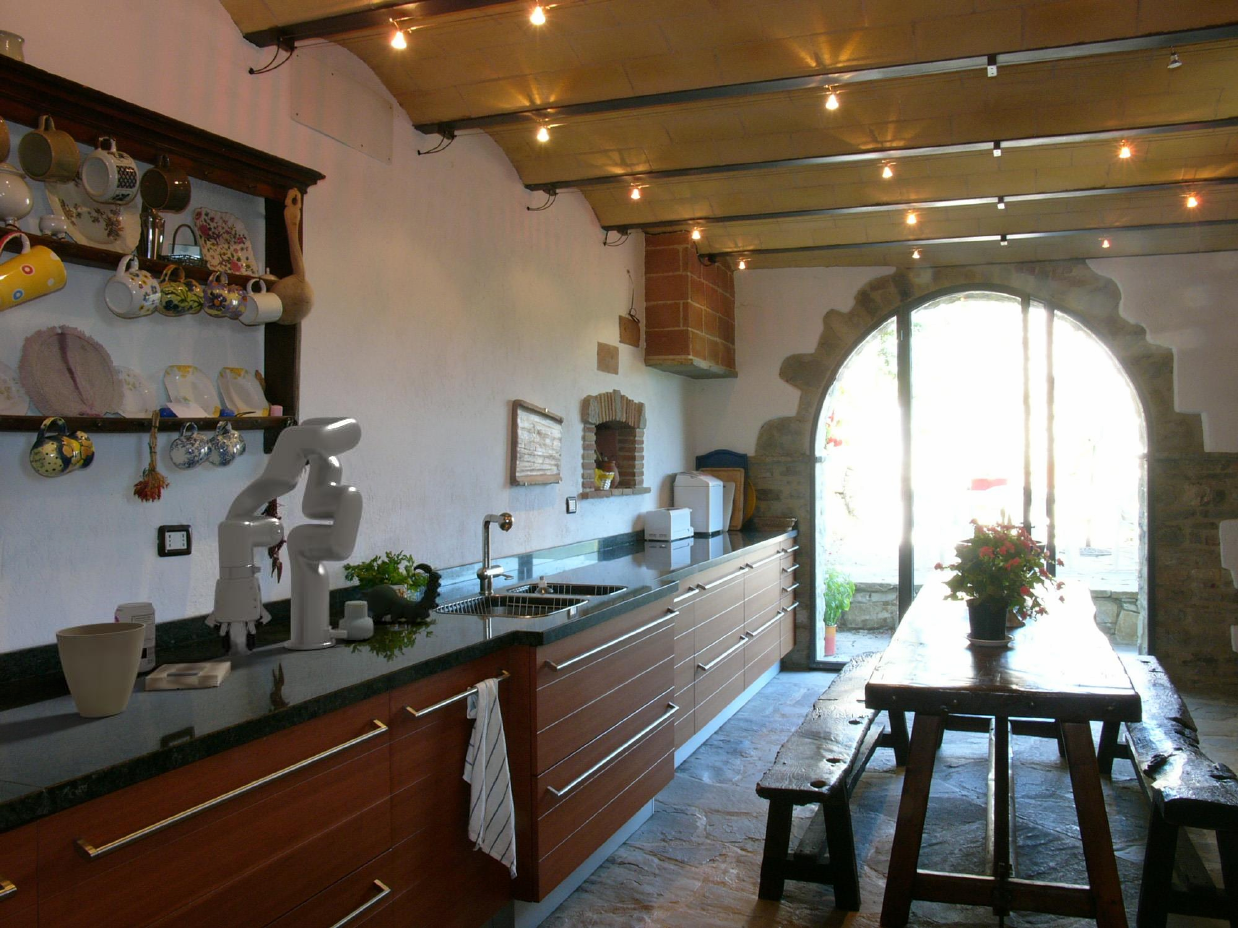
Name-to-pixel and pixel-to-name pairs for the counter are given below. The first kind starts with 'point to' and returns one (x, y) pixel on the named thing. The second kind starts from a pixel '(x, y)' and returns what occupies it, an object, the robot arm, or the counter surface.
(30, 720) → the counter surface
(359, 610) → the air freshener
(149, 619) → the supplement can
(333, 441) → the robot arm
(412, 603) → the toy figurine
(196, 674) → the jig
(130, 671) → the plant pot
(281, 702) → the counter surface
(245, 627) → the bushing
